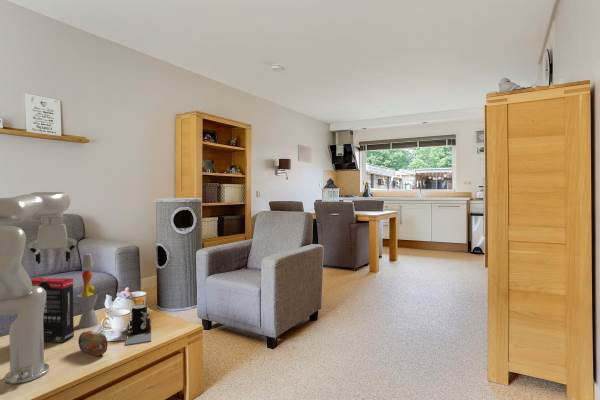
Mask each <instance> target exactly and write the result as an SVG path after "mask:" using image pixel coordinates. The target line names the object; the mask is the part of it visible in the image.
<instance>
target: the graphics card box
mask: <svg viewBox="0 0 600 400" xmlns="http://www.w3.org/2000/svg"><path fill="white" fill-rule="evenodd" d="M30 279H31V281H32V286H39V287H42V288H43V289H44V290H45V291H46V302H45V307H44V317H43V330H44V343H45V342H46V343H48V342H49V343H60V344H62V343H66V342H67V341H69V340H71V339H72V338H74V335H75V333H74V329H75V328H74V326H75V324H74V323H75V322H74V278H66V277H65V278H63V277H62V278H61V277H60V278H59V277H41V276H40V277H34V278H30Z"/></svg>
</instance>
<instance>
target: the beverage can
mask: <svg viewBox="0 0 600 400" xmlns="http://www.w3.org/2000/svg"><path fill="white" fill-rule="evenodd" d="M147 318H148V307H147V305H146V304H143V303H140V304H139V303H138V304H134V305H133V306H132V309H131V320H132V329H131V331H132V330H133V332H132V333H133V334H134V335H140V334H145V332H146V331H147V330H148V327H147Z"/></svg>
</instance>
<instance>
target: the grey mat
mask: <svg viewBox="0 0 600 400" xmlns="http://www.w3.org/2000/svg"><path fill="white" fill-rule="evenodd" d="M128 336H129V338H128V339H127V338H126V339H127V340H125V346H131V345H132V346H133V345H138V344H143V343H151V342H152V332H151V333H150V332H148V333H141V334H134V335H128Z"/></svg>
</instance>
